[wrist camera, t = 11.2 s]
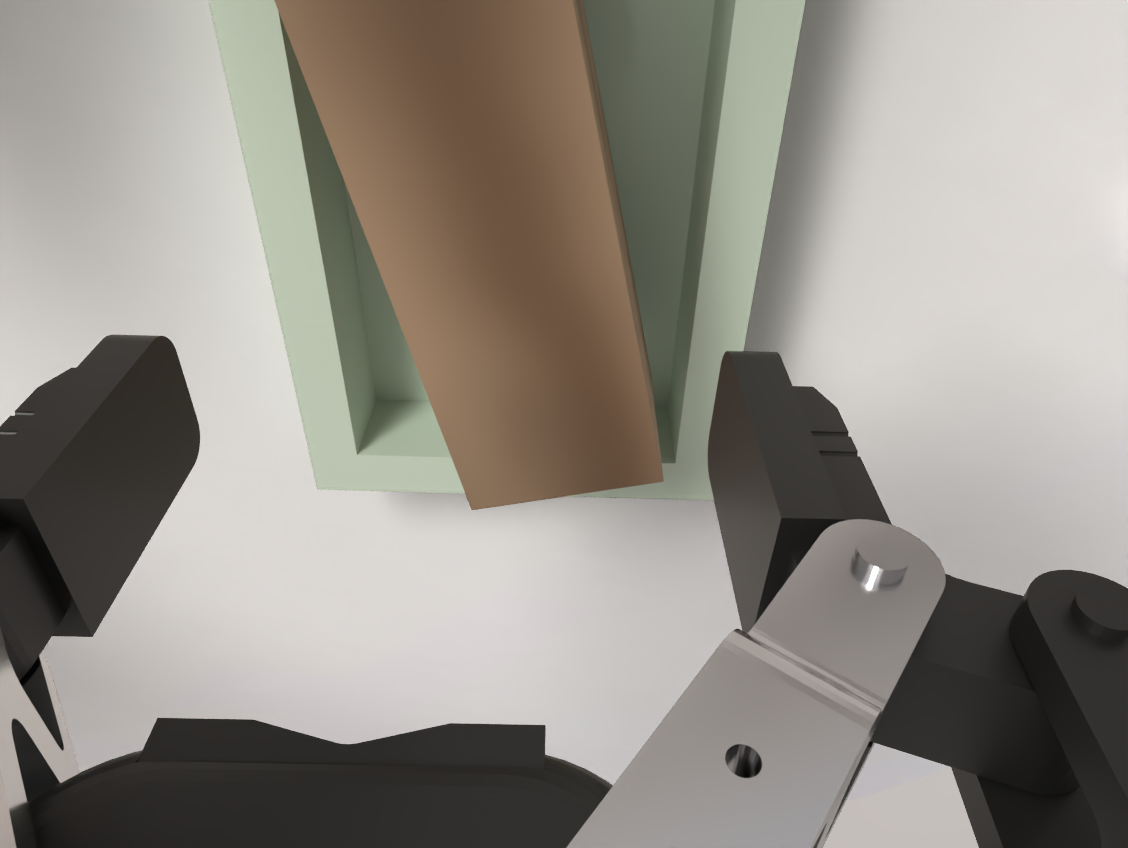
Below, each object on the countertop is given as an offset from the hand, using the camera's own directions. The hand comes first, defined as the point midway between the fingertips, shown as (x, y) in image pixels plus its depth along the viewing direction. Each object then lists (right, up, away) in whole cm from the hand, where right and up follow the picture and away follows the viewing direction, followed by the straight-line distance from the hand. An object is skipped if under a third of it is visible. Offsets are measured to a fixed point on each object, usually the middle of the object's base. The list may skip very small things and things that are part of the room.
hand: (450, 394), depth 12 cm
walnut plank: (0, +7, +8) cm, 10 cm away
